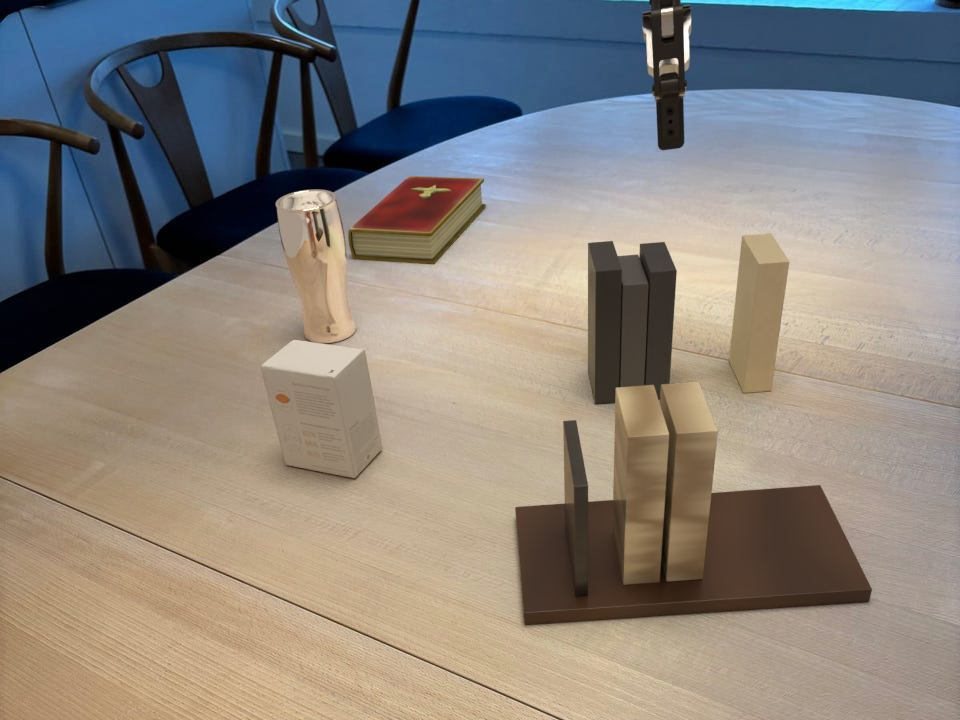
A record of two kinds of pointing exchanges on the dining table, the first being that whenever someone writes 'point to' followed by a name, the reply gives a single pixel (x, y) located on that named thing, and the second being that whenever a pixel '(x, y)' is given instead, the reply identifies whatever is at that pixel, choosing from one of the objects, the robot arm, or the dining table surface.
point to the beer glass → (317, 262)
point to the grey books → (629, 318)
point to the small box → (323, 407)
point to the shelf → (733, 568)
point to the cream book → (758, 311)
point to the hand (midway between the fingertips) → (670, 137)
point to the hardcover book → (417, 220)
